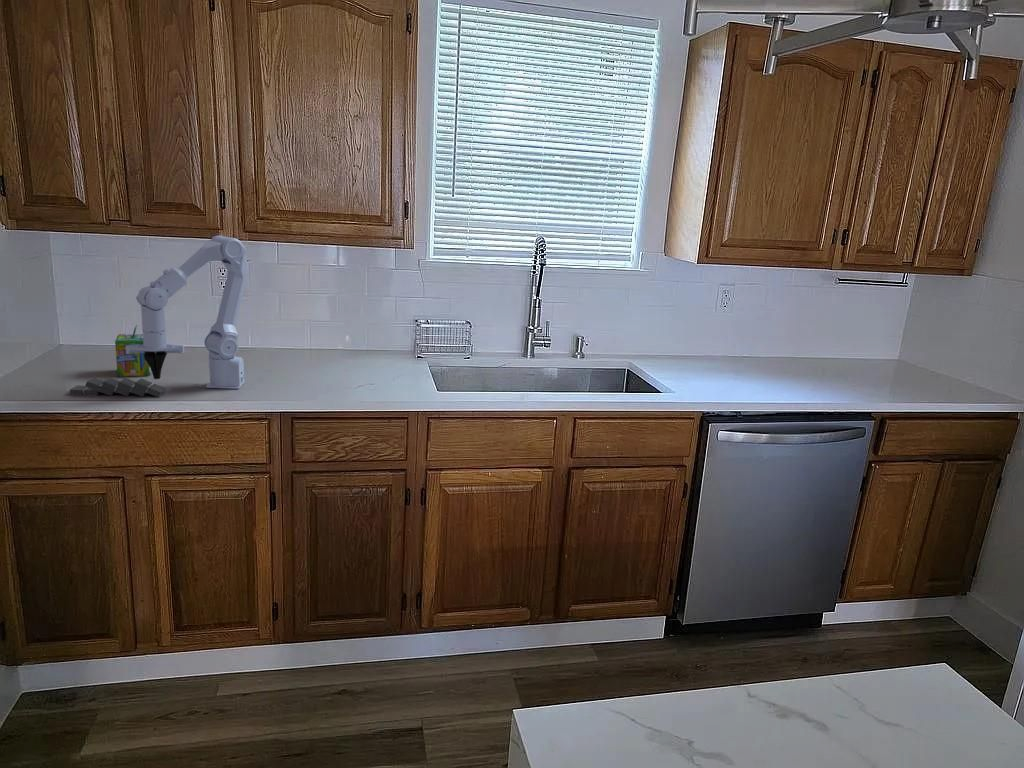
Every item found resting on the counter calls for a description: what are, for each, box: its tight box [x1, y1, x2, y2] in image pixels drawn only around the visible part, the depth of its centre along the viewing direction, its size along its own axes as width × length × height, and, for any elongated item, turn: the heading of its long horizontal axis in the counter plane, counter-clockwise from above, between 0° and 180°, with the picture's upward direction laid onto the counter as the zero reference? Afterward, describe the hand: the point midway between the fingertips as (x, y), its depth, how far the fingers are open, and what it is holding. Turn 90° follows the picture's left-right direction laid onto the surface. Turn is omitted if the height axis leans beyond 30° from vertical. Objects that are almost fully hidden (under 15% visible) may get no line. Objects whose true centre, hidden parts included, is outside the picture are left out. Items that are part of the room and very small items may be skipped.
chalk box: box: [114, 325, 152, 377], centre depth 223 cm, size 9×9×15 cm
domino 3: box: [102, 377, 133, 397], centre depth 202 cm, size 2×4×7 cm
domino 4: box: [117, 377, 148, 398], centre depth 203 cm, size 2×4×7 cm
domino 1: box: [69, 384, 102, 396], centre depth 202 cm, size 2×4×7 cm
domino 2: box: [84, 377, 117, 397], centre depth 202 cm, size 2×4×7 cm
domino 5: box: [134, 378, 167, 398], centre depth 204 cm, size 2×4×7 cm
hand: (157, 378), depth 203 cm, fingers closed
